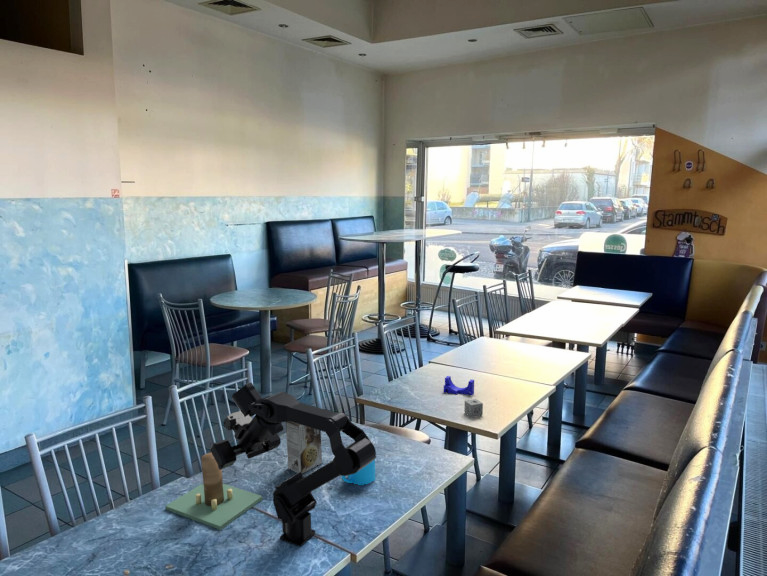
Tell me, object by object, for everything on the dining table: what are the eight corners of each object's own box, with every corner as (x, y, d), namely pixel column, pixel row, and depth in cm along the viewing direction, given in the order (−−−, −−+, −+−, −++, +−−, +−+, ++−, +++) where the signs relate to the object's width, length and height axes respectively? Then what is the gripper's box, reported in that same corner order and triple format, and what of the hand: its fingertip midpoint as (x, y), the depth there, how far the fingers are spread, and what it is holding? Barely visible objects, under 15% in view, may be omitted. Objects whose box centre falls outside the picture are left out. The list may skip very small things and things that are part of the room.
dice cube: (482, 415, 210) (482, 403, 209) (471, 417, 208) (471, 405, 207) (475, 411, 214) (475, 398, 213) (464, 413, 212) (464, 400, 211)
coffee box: (308, 457, 177) (306, 410, 175) (322, 463, 173) (321, 415, 171) (286, 468, 170) (284, 419, 168) (301, 475, 166) (299, 424, 164)
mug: (361, 468, 170) (361, 443, 169) (381, 477, 164) (380, 452, 163) (332, 483, 161) (331, 457, 160) (351, 493, 156) (351, 466, 154)
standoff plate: (262, 499, 153) (261, 487, 153) (220, 530, 139) (219, 517, 139) (210, 482, 163) (209, 471, 162) (165, 509, 149) (164, 497, 148)
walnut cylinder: (226, 502, 150) (222, 457, 148) (207, 508, 147) (203, 462, 145) (221, 494, 154) (217, 450, 152) (203, 499, 152) (199, 455, 149)
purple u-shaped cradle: (443, 392, 235) (443, 379, 234) (447, 389, 239) (447, 375, 238) (470, 396, 229) (470, 383, 228) (474, 393, 233) (474, 379, 232)
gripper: (272, 395, 149) (248, 428, 157) (212, 412, 134) (189, 447, 142) (293, 429, 145) (267, 461, 152) (233, 450, 130) (208, 484, 138)
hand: (234, 462), depth 146 cm, fingers open, 9 cm apart
